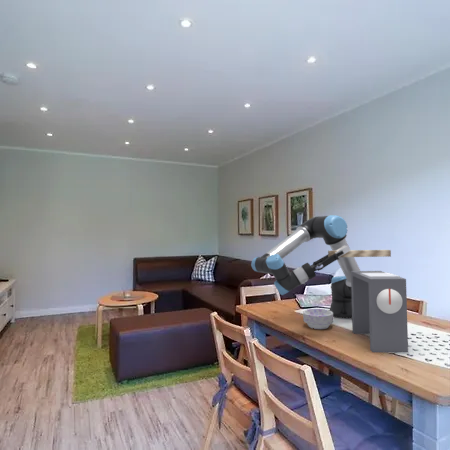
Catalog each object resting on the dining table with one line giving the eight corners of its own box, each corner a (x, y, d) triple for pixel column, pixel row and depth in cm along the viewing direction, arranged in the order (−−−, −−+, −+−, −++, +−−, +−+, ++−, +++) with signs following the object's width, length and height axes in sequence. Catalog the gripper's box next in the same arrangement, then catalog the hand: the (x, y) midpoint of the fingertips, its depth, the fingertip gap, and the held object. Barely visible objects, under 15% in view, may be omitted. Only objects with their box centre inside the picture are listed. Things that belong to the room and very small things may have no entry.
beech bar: (329, 257, 159) (329, 251, 159) (328, 256, 162) (328, 250, 162) (390, 256, 157) (390, 250, 157) (388, 256, 160) (388, 249, 160)
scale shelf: (373, 353, 137) (371, 277, 138) (352, 331, 166) (350, 269, 167) (409, 353, 136) (407, 276, 137) (381, 332, 165) (380, 268, 166)
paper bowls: (310, 332, 167) (310, 316, 167) (299, 323, 182) (298, 309, 182) (339, 330, 169) (338, 314, 170) (325, 322, 185) (325, 307, 185)
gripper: (306, 277, 169) (347, 253, 168) (312, 282, 153) (357, 256, 152) (298, 264, 170) (338, 240, 168) (303, 268, 154) (348, 241, 152)
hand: (347, 248), depth 160 cm, fingers closed on beech bar, 3 cm apart
